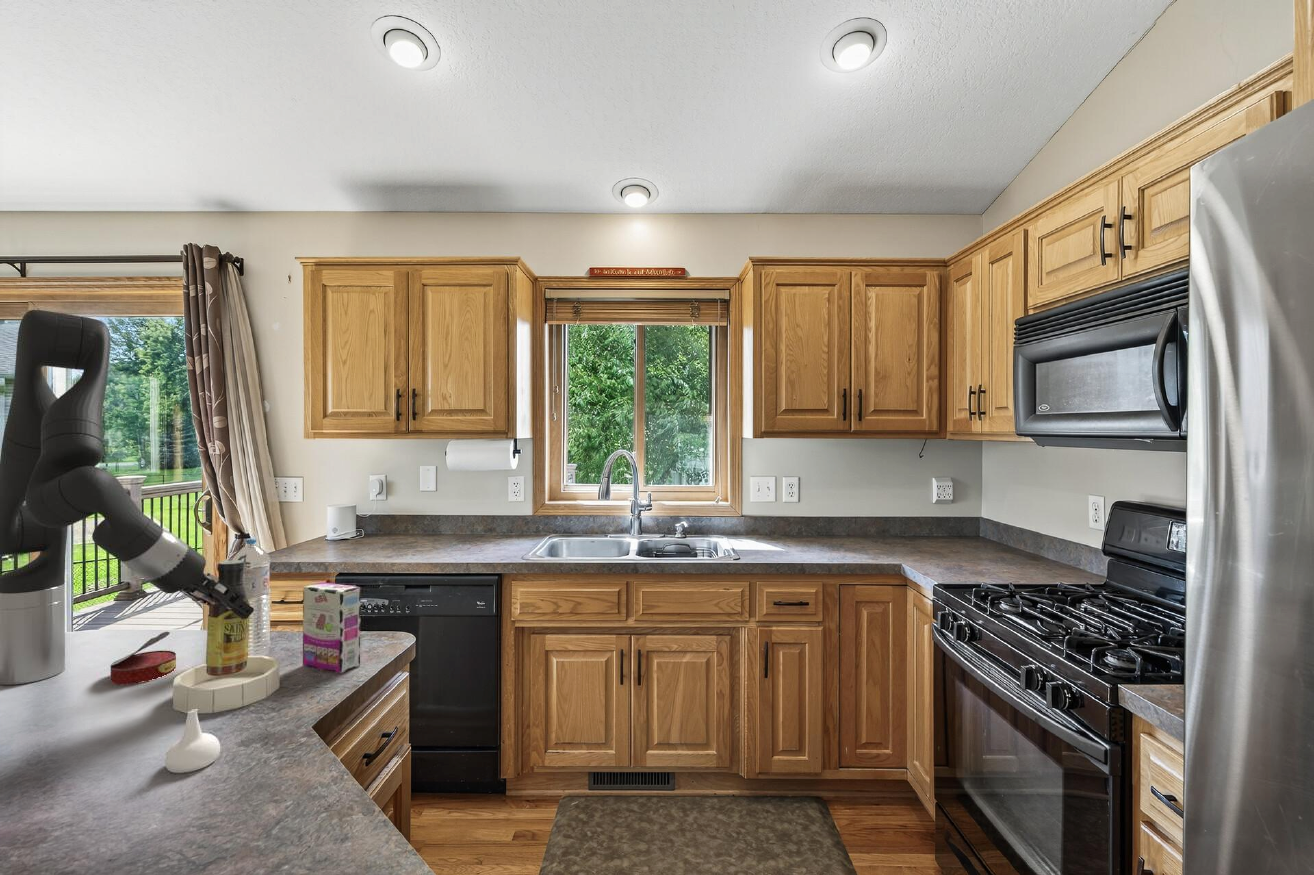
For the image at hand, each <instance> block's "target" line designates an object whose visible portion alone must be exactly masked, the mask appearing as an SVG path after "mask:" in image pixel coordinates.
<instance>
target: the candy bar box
mask: <svg viewBox="0 0 1314 875" xmlns="http://www.w3.org/2000/svg"><path fill="white" fill-rule="evenodd" d="M302 588H303V589H302V591H303V593H302V594H303V595H302V596H303V598H302V666H303V667H307V668H312V669H316V670H321V671H325V672H331V673H336V674H344V673H347V672H348V671H351V670H354V669H356V668H359V667H360V666H361V596H362V595H361V593H362V592H361V590H362V589H361V588H362V587H360V586H355V585H350V584H349V585H348V584H347V585H346V584H340V583H339V584H338V583H331V582H323V581H322V582H318V583H313V584H310V585H306V586H303V587H302Z"/></svg>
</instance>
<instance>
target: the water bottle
mask: <svg viewBox="0 0 1314 875" xmlns="http://www.w3.org/2000/svg"><path fill="white" fill-rule="evenodd" d="M245 544H246V546H245V547H243V548H242V549H240V550H239V551H238V552H237V553H236V554H235V555H234V556H233V558H232V559H231V561H232V560H242V561H244V566H245V567H244V570H243V587H244V590H245V593H246V596H247V600H248V602H249V604H250V606H251V607H252V608H254V611H253V612H252V614H251V615H250V616H249V639H248V656H268V655H269V652H270V649H271V647H270V646H271V639H270V638H271V627H270V626H271V606H270V605H271V592H270V564H271V557H270V555H269V553H267V551H265V549H263V548H262V547H260V546H258V545H257V538H246V539H245Z"/></svg>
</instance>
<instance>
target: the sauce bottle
mask: <svg viewBox="0 0 1314 875" xmlns="http://www.w3.org/2000/svg"><path fill="white" fill-rule="evenodd" d="M244 567H245V566H244V561H242V560H232V559H231V560H224V561H219V562H218V563H217V567H216V570H217V572H218V577H217V580H220V579H222V580H225V581H226V582H227V583H228V584H230V585H231V586H232V587H233V588H235V589H236V590H237V591H238V592H240V593H241V594H243V596H245V597H244V599H243V601H244V602H246V603H247V604H248V605H250V604H249V602H248V600H247V596H246V593H245V590H244V587H243V570H244ZM216 598H217V597H216V596H213V597H212V599H216ZM231 598H232V596H231ZM231 598H230V599H231ZM230 599H229V601H230ZM208 607H209V608H208V614H207V629H206V630H207V632H206V633H207V634H206V652H205V653H206V654H205V655H206V656H205V664H206V665H207V669H206V672H207V674H208V675H211V676H222V675H229V674H234V673H237V672H240V671H241V670H243V669H244V668H245V667H246V665H247V659H248V639H249V617H248V618H247V619H242V618H241V617H239V616H238V615H236V614H235V613H234V612H232V611H231V610H229V609H226V607H224V606H222V605H220V604H216V605H214V604H212V603H209V606H208Z"/></svg>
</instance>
